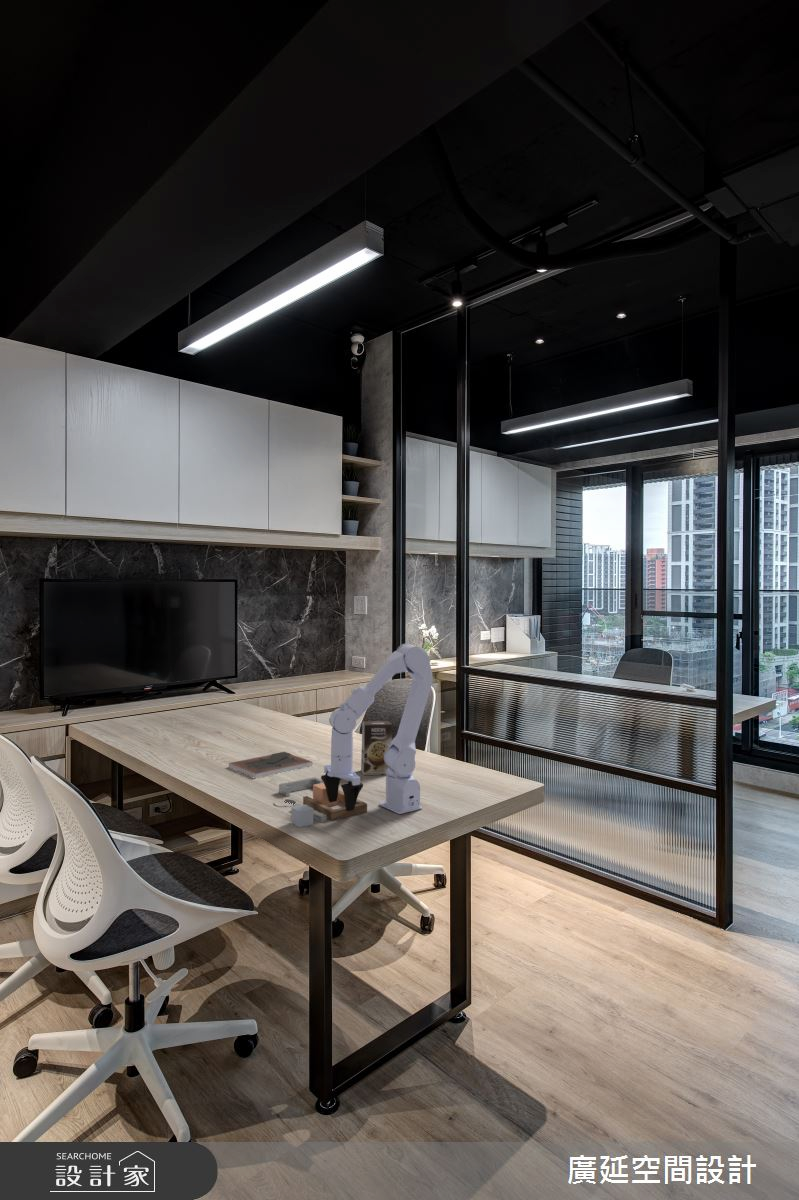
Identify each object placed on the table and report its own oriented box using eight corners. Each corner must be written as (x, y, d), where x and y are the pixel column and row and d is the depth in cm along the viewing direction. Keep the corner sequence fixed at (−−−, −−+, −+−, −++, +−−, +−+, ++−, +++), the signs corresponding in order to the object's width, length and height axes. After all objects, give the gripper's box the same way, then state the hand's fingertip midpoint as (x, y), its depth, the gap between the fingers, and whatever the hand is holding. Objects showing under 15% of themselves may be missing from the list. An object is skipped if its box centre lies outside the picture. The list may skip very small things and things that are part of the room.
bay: (367, 811, 173) (367, 803, 173) (331, 820, 166) (331, 811, 166) (337, 797, 184) (337, 789, 184) (303, 804, 178) (303, 796, 178)
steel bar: (326, 821, 166) (326, 814, 166) (321, 823, 165) (321, 816, 165) (298, 810, 175) (298, 803, 174) (292, 811, 173) (292, 805, 173)
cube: (338, 804, 178) (338, 786, 178) (322, 807, 175) (322, 789, 175) (328, 799, 182) (328, 781, 182) (312, 802, 179) (313, 784, 179)
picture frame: (284, 758, 228) (228, 769, 213) (284, 751, 228) (228, 762, 213) (312, 768, 216) (255, 781, 201) (312, 761, 216) (255, 773, 201)
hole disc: (299, 804, 178) (299, 803, 178) (279, 808, 174) (279, 808, 174) (289, 798, 183) (289, 797, 183) (269, 802, 179) (269, 802, 179)
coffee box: (363, 775, 206) (364, 724, 205) (360, 770, 212) (361, 720, 212) (392, 774, 208) (392, 724, 207) (388, 769, 214) (389, 719, 214)
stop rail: (323, 789, 192) (323, 781, 192) (286, 796, 184) (286, 788, 184) (315, 785, 195) (315, 777, 195) (278, 792, 188) (279, 784, 188)
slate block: (313, 824, 164) (313, 808, 163) (299, 827, 161) (299, 811, 161) (305, 819, 167) (305, 804, 167) (291, 823, 164) (291, 807, 164)
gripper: (314, 751, 176) (314, 801, 176) (344, 762, 164) (343, 816, 164) (336, 747, 180) (336, 796, 180) (367, 758, 169) (366, 811, 169)
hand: (341, 805), depth 173 cm, fingers open, 7 cm apart
